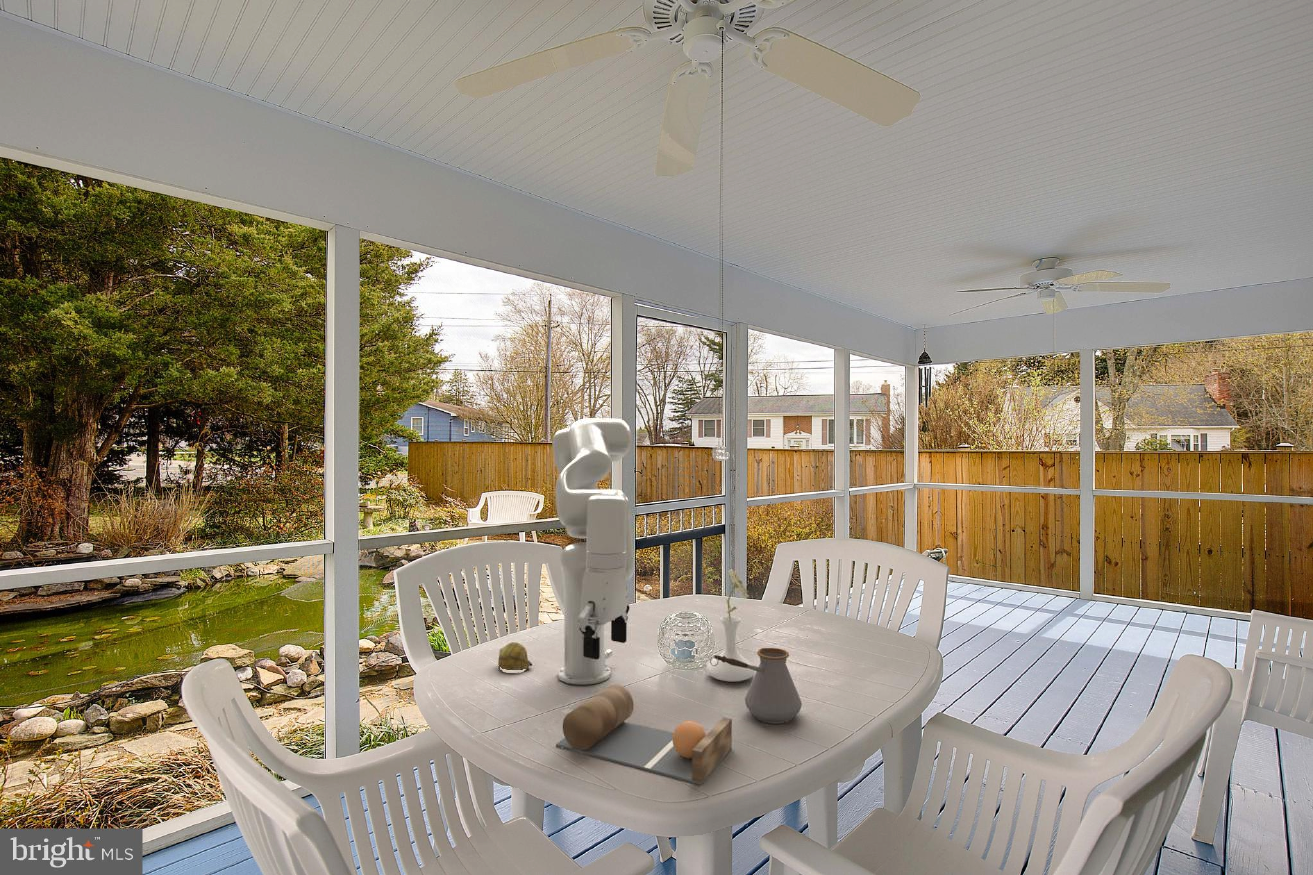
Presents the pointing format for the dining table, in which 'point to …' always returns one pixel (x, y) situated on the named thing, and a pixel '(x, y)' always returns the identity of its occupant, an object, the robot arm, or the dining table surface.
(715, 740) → the backstop board
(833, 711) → the dining table surface
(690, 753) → the ball
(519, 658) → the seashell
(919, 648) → the dining table surface
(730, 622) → the flower in vase
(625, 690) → the brown cylinder
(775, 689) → the coffee pot
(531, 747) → the dining table surface
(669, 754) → the throwing mat
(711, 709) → the dining table surface
